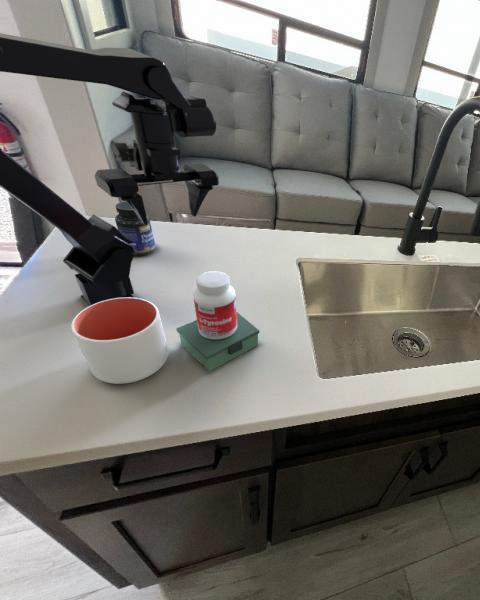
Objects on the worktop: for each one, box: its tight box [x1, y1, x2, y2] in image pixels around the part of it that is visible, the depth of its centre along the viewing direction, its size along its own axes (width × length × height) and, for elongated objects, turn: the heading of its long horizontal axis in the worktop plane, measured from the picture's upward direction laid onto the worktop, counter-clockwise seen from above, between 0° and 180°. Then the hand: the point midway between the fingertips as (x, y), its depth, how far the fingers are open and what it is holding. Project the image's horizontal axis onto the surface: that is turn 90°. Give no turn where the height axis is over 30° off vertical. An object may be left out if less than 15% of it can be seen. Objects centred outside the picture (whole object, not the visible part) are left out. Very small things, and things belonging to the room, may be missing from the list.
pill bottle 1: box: [114, 201, 157, 257], centre depth 74 cm, size 6×6×11 cm
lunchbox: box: [175, 311, 260, 372], centre depth 60 cm, size 10×10×4 cm
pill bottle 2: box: [192, 270, 238, 339], centre depth 56 cm, size 6×6×11 cm
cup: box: [70, 297, 169, 385], centre depth 51 cm, size 10×10×10 cm
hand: (170, 220), depth 67 cm, fingers open, 9 cm apart
